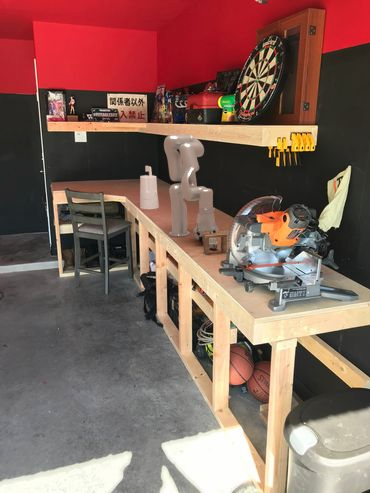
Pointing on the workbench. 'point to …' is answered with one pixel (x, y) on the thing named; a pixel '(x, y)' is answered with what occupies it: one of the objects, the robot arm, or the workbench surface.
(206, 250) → the walnut sleeve
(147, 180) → the white pump bottle
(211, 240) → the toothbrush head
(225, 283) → the workbench surface
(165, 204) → the workbench surface
